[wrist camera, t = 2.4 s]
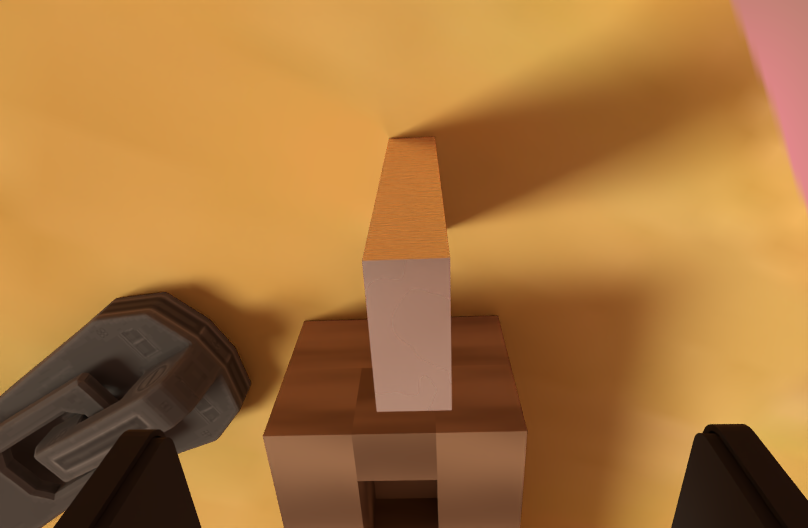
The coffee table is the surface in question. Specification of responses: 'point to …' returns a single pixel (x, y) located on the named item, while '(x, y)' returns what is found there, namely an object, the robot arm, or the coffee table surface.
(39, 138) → the coffee table surface
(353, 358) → the slotted wooden block
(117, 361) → the zipper pull
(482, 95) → the coffee table surface
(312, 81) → the coffee table surface
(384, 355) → the pinkish wooden bar
